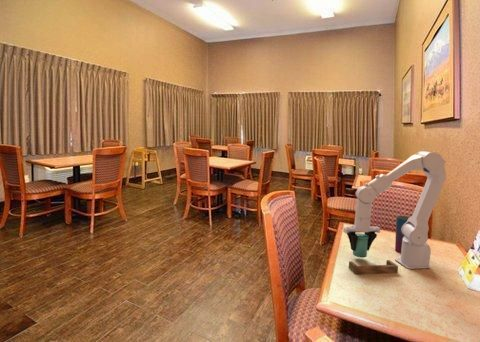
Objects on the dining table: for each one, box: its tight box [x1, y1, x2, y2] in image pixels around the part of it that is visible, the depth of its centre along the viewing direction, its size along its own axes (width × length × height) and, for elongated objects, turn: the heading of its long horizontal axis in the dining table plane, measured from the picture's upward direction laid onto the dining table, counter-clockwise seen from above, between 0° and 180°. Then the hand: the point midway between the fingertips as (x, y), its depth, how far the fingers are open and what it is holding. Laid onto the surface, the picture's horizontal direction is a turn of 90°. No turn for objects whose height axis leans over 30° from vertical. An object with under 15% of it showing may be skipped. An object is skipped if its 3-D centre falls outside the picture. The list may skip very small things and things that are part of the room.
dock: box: [348, 259, 399, 275], centre depth 109 cm, size 16×5×2 cm, turn 98°
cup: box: [394, 214, 411, 254], centre depth 126 cm, size 7×7×15 cm
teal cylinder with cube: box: [352, 232, 369, 259], centre depth 119 cm, size 6×8×8 cm
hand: (359, 249), depth 118 cm, fingers closed on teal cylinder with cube, 5 cm apart
